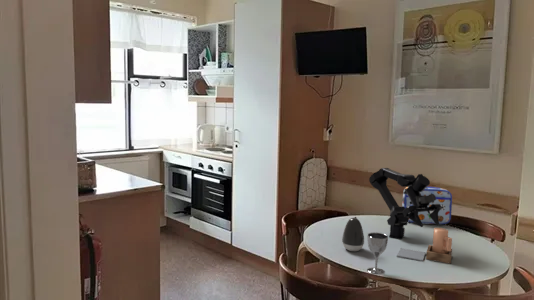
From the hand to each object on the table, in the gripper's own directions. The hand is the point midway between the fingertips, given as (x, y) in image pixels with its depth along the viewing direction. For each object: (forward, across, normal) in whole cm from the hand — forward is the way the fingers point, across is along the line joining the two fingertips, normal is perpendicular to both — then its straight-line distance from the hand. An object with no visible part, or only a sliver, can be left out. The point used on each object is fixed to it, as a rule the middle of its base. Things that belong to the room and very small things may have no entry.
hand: (430, 225), depth 193 cm
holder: (+14, 0, +4) cm, 14 cm away
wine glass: (+17, -36, +1) cm, 40 cm away
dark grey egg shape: (-1, -32, +19) cm, 37 cm away
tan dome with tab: (+15, 0, +3) cm, 15 cm away
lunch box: (-20, +32, +38) cm, 53 cm away
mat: (+9, -10, +9) cm, 16 cm away
